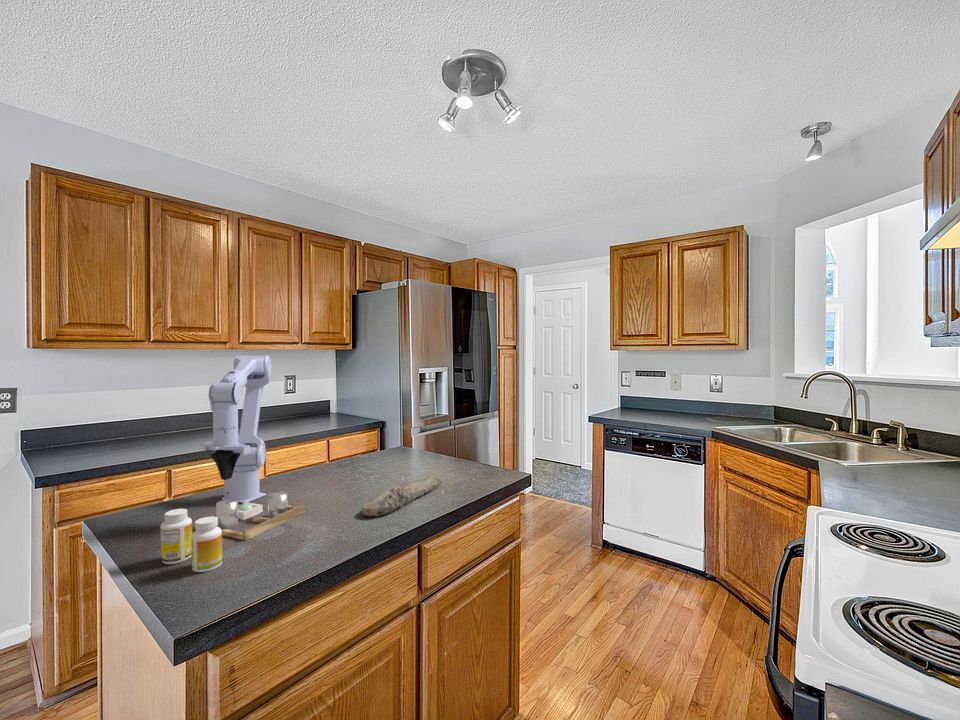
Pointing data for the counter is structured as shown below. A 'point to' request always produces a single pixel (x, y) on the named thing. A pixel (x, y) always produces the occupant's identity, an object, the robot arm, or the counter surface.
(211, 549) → the supplement bottle
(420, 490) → the elongated rock
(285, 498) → the cylinder
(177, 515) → the supplement bottle
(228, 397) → the robot arm
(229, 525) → the billet
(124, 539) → the counter surface
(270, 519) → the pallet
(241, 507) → the button
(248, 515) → the button housing
